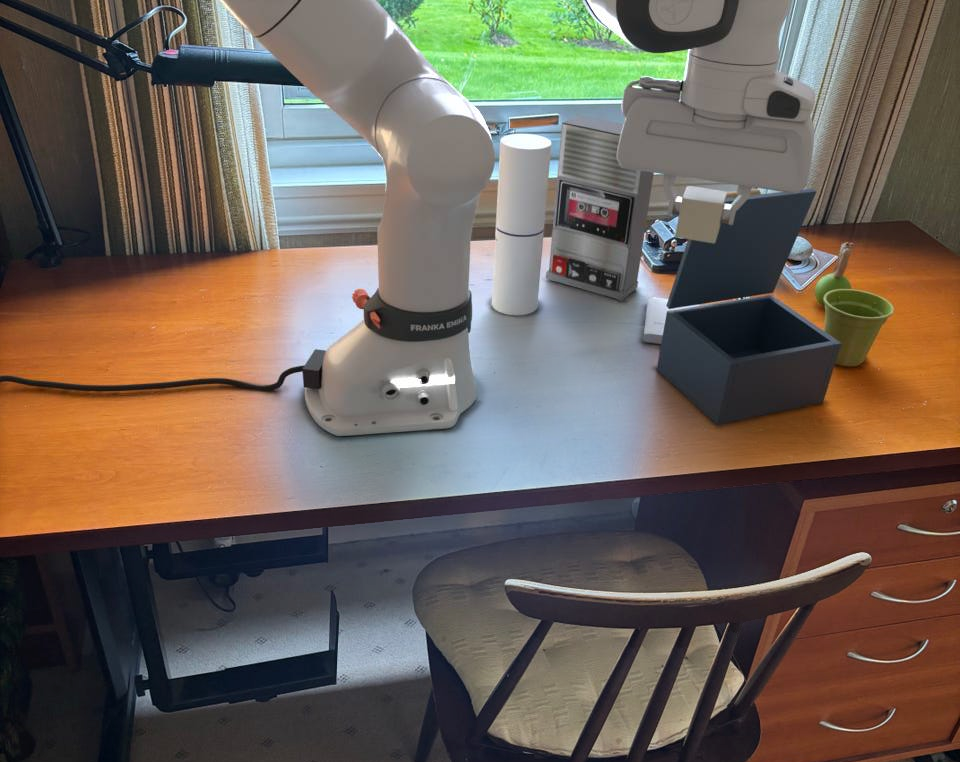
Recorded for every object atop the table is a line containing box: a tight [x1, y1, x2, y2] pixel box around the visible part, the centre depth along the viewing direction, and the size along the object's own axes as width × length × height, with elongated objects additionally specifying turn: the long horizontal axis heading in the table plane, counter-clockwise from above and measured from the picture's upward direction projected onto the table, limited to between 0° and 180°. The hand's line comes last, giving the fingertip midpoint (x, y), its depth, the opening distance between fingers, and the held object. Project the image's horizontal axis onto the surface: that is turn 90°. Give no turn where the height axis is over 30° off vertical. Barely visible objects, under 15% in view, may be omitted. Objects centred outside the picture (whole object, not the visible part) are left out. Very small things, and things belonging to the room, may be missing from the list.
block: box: [674, 185, 728, 243], centre depth 101 cm, size 4×4×4 cm
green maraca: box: [814, 241, 855, 308], centre depth 143 cm, size 5×6×12 cm
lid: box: [666, 188, 817, 309], centre depth 120 cm, size 16×17×5 cm
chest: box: [656, 294, 842, 425], centre depth 123 cm, size 15×17×9 cm
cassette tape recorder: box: [545, 114, 655, 302], centre depth 142 cm, size 14×6×25 cm, turn 58°
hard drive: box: [642, 296, 702, 345], centre depth 138 cm, size 2×8×12 cm
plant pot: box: [823, 288, 895, 367], centre depth 130 cm, size 9×9×9 cm
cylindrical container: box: [491, 133, 552, 316], centre depth 135 cm, size 7×7×25 cm
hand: (700, 218), depth 101 cm, fingers closed on block, 4 cm apart
